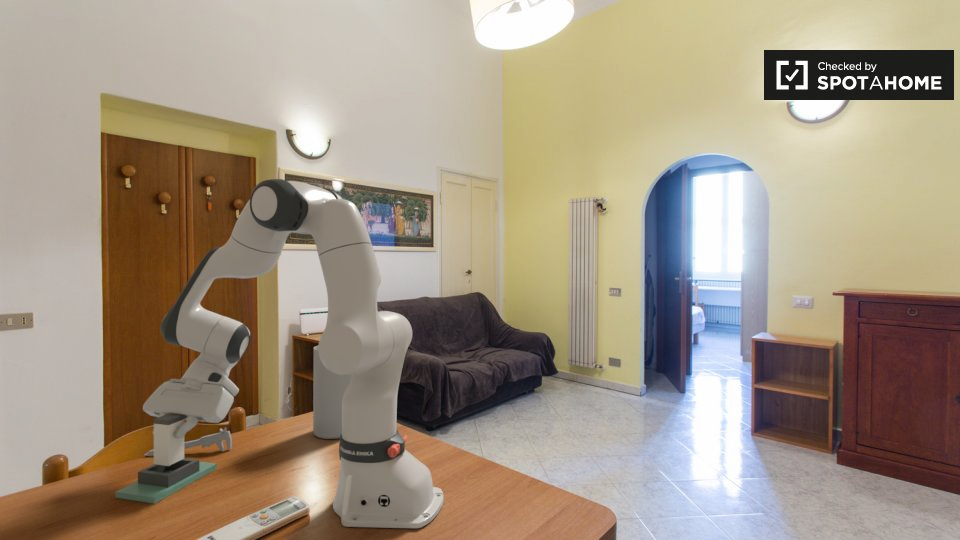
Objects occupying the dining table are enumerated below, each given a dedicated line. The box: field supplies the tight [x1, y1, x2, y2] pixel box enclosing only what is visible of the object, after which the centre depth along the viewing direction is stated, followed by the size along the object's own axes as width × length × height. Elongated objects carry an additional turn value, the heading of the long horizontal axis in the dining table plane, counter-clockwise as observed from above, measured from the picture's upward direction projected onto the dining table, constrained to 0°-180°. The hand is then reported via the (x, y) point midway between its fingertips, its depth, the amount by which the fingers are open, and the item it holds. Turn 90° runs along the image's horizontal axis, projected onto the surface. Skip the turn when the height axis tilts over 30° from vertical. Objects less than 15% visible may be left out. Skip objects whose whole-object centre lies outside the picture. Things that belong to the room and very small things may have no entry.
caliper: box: [142, 427, 233, 457], centre depth 116 cm, size 20×1×6 cm, turn 101°
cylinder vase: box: [312, 345, 353, 440], centre depth 131 cm, size 12×12×25 cm
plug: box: [153, 413, 186, 466], centre depth 100 cm, size 4×4×10 cm
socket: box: [115, 457, 218, 504], centre depth 100 cm, size 10×16×4 cm, turn 167°
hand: (166, 436), depth 99 cm, fingers closed on plug, 4 cm apart
